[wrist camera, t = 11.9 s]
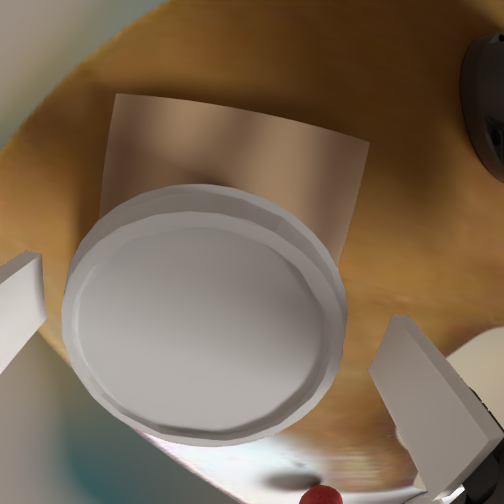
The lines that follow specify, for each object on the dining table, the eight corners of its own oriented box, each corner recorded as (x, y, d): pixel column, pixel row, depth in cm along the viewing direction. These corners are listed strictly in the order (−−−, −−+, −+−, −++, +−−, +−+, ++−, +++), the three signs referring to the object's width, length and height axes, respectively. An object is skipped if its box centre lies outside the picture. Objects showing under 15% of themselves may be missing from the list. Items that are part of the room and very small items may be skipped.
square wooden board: (353, 141, 22) (370, 141, 19) (300, 336, 26) (307, 357, 24) (130, 98, 20) (116, 93, 17) (109, 304, 25) (96, 322, 22)
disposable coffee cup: (116, 254, 20) (21, 365, 9) (199, 130, 18) (145, 111, 7) (232, 330, 22) (235, 477, 11) (322, 224, 20) (417, 321, 9)
